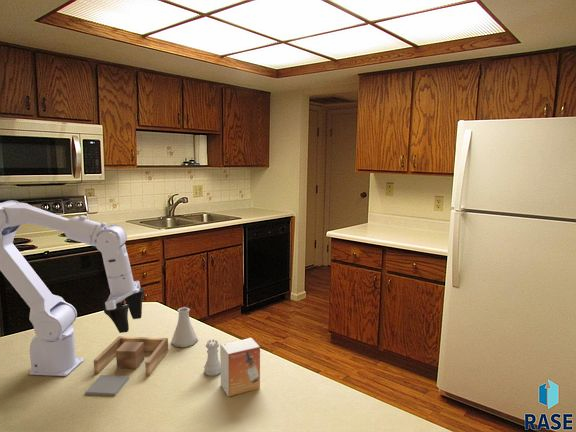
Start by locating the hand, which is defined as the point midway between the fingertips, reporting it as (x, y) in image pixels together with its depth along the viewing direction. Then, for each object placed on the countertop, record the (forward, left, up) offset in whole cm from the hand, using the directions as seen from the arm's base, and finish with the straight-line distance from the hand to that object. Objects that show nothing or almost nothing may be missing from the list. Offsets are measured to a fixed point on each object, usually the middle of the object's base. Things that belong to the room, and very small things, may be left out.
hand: (130, 324), depth 102 cm
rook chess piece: (+21, -2, -11) cm, 24 cm away
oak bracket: (-1, +1, -11) cm, 11 cm away
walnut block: (-1, 0, -11) cm, 11 cm away
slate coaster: (-2, -10, -11) cm, 15 cm away
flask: (+9, +13, -11) cm, 20 cm away
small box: (+29, -8, -11) cm, 32 cm away
